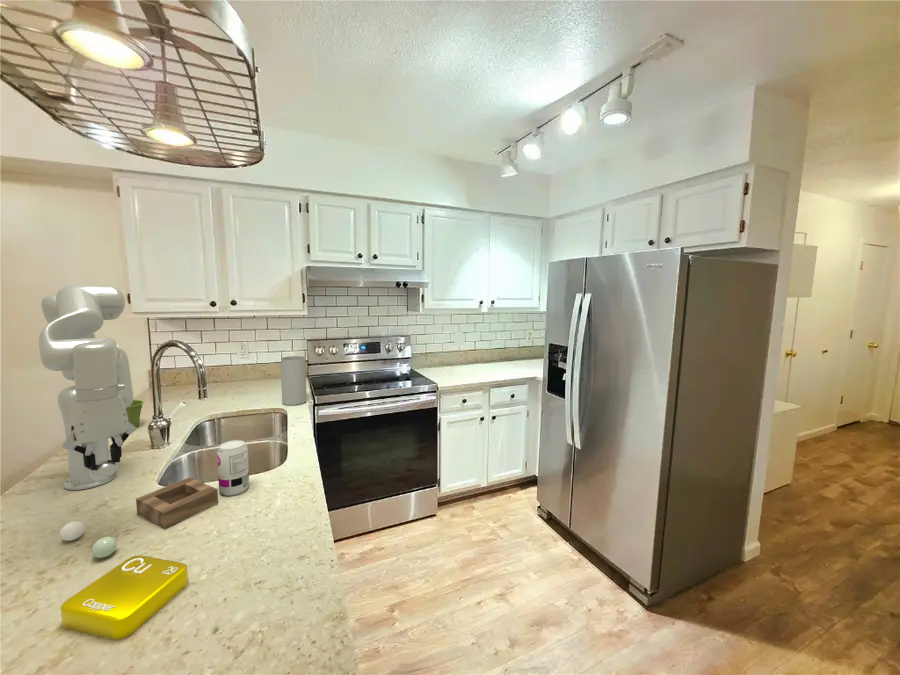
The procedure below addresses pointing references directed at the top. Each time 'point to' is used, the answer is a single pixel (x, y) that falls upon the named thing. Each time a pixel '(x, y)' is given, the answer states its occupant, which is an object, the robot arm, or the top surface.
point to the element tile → (124, 597)
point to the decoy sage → (104, 547)
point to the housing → (176, 502)
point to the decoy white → (72, 531)
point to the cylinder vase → (293, 380)
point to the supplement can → (233, 467)
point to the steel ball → (104, 471)
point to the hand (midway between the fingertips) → (103, 464)
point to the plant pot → (134, 412)
